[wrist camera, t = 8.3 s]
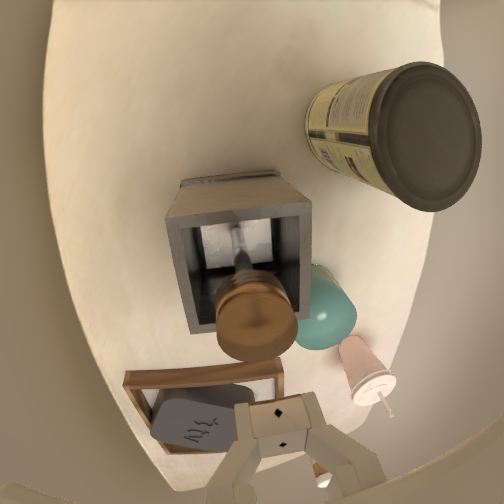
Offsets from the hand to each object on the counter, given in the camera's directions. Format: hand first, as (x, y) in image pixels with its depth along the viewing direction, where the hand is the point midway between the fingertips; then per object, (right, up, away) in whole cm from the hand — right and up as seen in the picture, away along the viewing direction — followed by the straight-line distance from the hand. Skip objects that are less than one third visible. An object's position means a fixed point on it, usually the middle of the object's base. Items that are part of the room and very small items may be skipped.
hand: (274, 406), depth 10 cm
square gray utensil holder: (-3, +9, +20) cm, 22 cm away
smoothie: (+14, -8, +30) cm, 34 cm away
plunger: (-2, +8, +17) cm, 19 cm away
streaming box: (-9, -19, +33) cm, 39 cm away
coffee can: (+9, +19, +18) cm, 28 cm away
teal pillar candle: (+6, +1, +25) cm, 26 cm away
